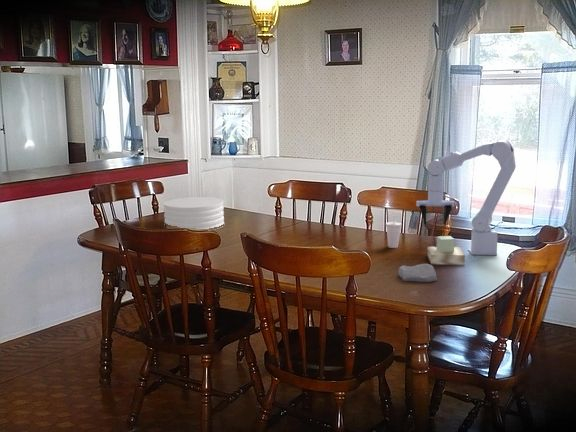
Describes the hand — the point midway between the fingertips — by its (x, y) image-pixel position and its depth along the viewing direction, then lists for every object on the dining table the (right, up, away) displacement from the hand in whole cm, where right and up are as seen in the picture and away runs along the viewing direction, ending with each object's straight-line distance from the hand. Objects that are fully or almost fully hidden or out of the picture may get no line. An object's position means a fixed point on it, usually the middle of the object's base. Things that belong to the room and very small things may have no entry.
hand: (434, 224), depth 258 cm
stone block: (-14, -18, -36) cm, 43 cm away
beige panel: (+1, -14, -15) cm, 20 cm away
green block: (0, -10, -16) cm, 18 cm away
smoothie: (-16, -9, +5) cm, 19 cm away
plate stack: (-103, -2, +52) cm, 115 cm away
